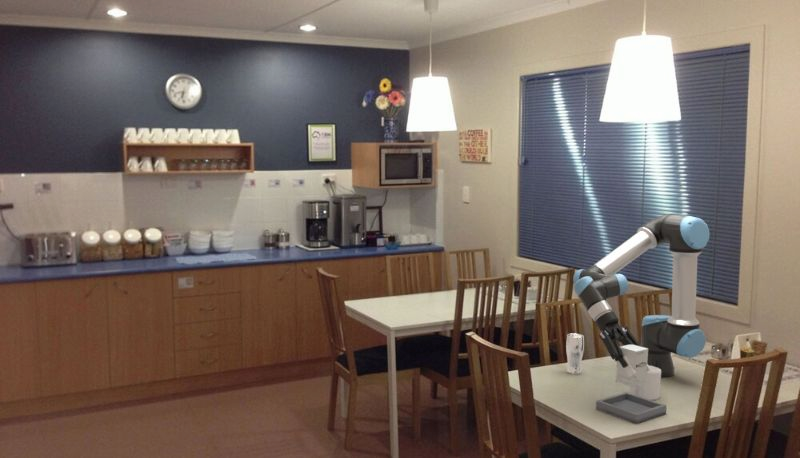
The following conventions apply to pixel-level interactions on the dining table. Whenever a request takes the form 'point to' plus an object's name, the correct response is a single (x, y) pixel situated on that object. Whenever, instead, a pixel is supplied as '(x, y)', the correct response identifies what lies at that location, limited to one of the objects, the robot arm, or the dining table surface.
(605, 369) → the dining table surface
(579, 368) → the beer glass
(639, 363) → the supplement box
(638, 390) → the toilet tissue
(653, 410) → the holder tray
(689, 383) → the dining table surface
